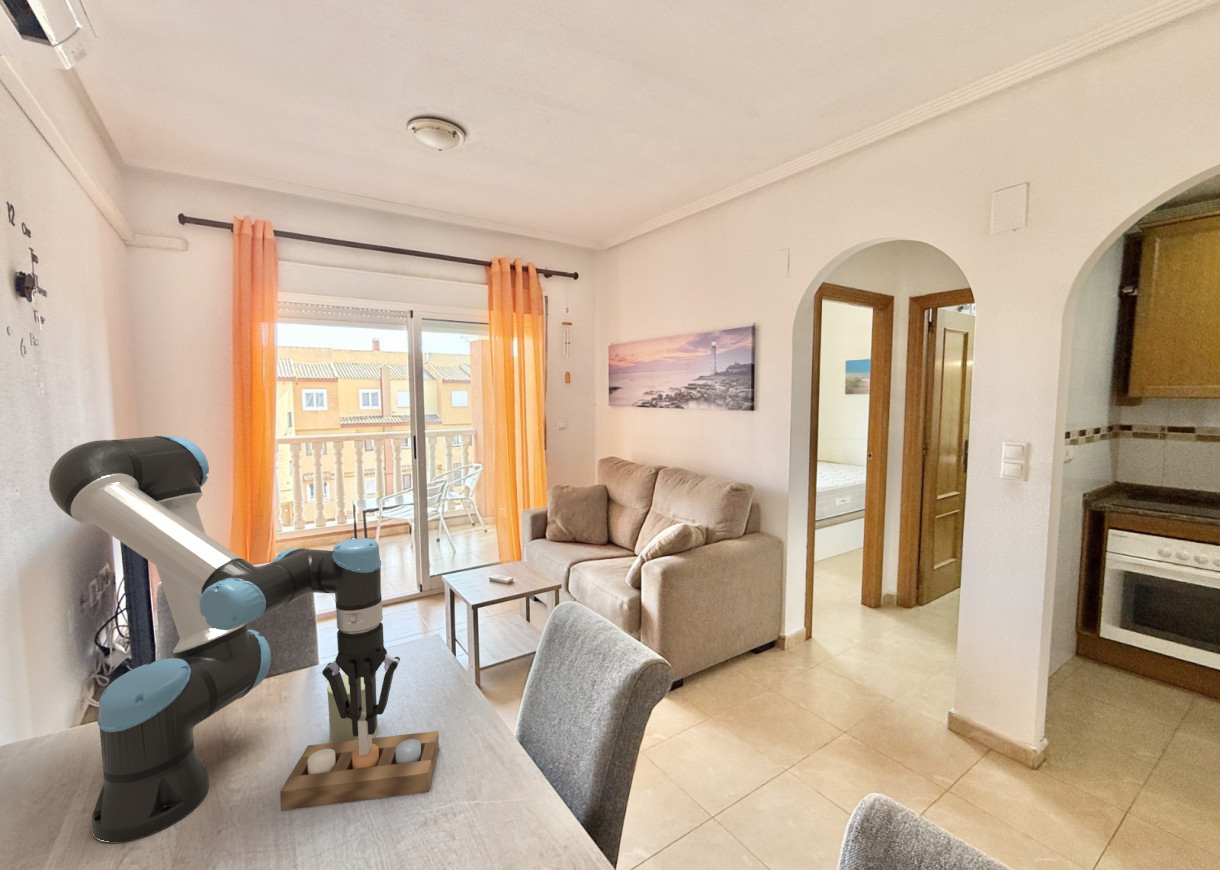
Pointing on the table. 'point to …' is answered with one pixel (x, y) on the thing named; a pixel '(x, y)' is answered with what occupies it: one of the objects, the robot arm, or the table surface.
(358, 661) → the robot arm
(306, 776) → the wooden egg holder
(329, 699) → the can
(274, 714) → the table surface
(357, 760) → the orange egg
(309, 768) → the white egg
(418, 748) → the blue-grey egg
